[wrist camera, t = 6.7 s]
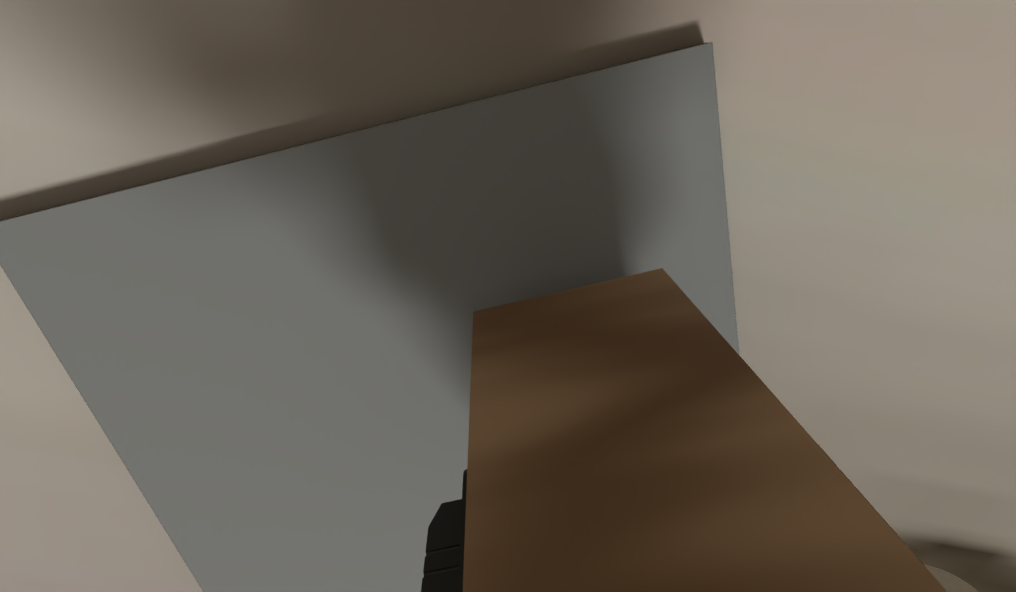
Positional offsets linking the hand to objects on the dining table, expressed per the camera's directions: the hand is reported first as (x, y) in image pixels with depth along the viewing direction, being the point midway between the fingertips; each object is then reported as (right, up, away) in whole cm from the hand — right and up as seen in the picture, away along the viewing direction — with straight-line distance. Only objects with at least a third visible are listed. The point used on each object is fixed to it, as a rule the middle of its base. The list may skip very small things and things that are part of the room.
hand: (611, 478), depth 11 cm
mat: (-4, +1, +4) cm, 6 cm away
